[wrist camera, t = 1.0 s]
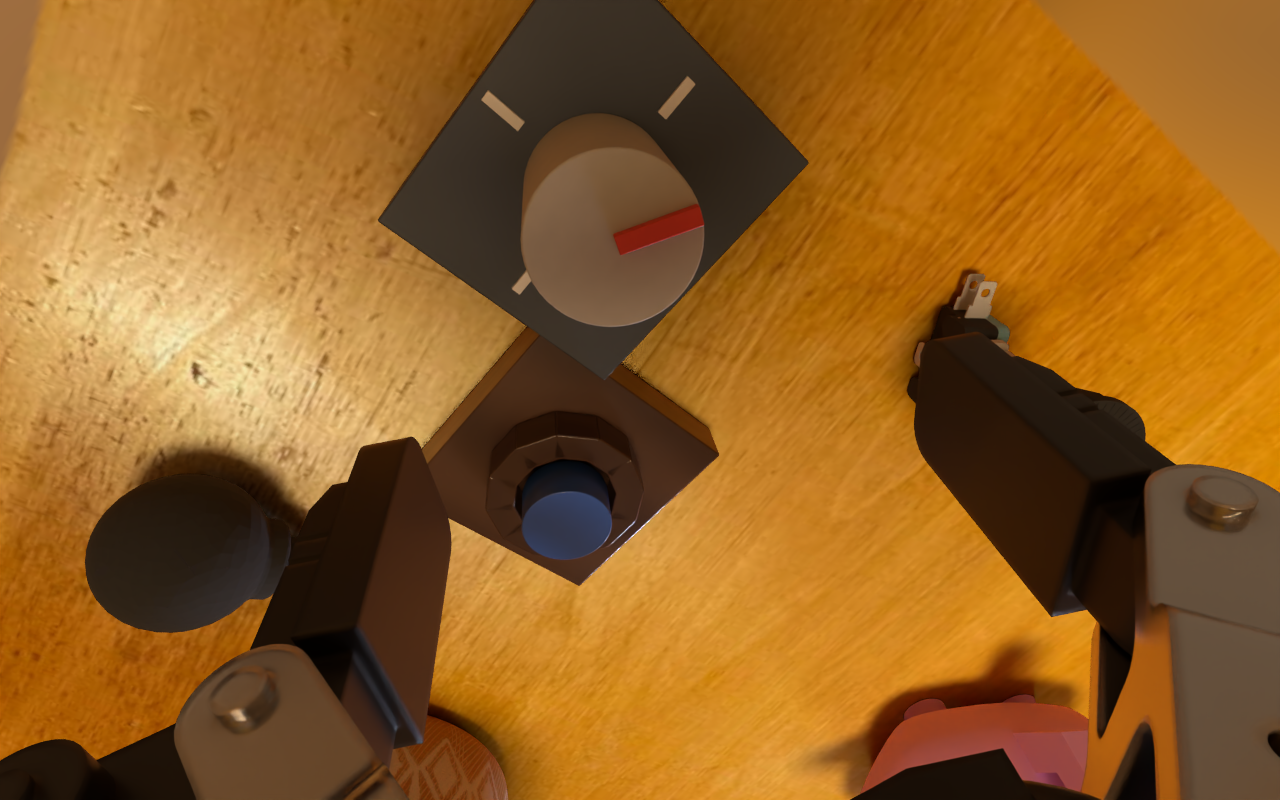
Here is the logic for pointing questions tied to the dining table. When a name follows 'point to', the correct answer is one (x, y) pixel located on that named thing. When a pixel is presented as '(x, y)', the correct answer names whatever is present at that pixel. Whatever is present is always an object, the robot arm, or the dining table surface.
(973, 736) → the teapot
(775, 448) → the dining table surface
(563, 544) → the switch button
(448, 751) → the planter
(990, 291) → the push button
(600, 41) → the dimmer panel
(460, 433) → the switch block
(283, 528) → the light bulb
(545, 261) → the dimmer
